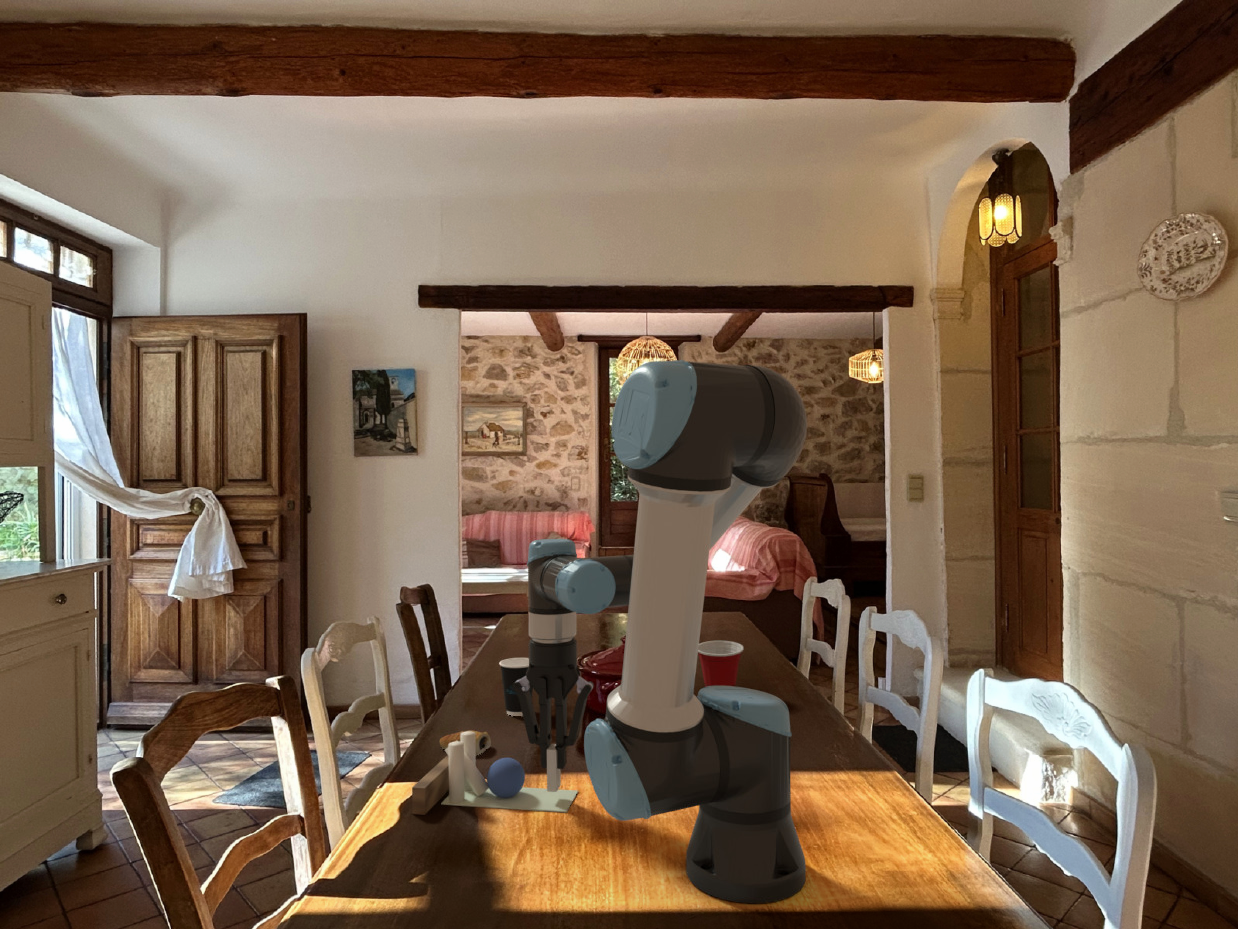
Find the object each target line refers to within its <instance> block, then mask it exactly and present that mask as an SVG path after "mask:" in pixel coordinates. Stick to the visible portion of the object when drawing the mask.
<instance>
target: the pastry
mask: <svg viewBox="0 0 1238 929" xmlns="http://www.w3.org/2000/svg"><path fill="white" fill-rule="evenodd" d="M467 731H472V732H475V746H476V757H477V755H478V756H480V755H482V754H483V753H484V752H485V751H487V750H488V749H489V748H490V747H491V746H492V745H491V744H492V740H491V737H490V735H489V733H488V732H487V731H484V732H480V731H476V730H474V729H473V730H465V731H464V730H461V731H459V732H455V733H451V734H446V735H445V736H443V737H441V738H440V739H439V746H440V747H442V748H441V749H442V750H443V749H446V748H448V744H449V743H451V742H455V741H460V734H461V733H462V732H467ZM460 742H461V741H460ZM486 749H487V750H486ZM481 753H482V754H481ZM479 754H480V755H479Z"/></svg>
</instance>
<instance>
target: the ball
mask: <svg viewBox="0 0 1238 929" xmlns="http://www.w3.org/2000/svg"><path fill="white" fill-rule="evenodd" d="M525 778H526V774H525V770H524V768H523V765H522V764H521V763H520V762H519V761H518V760H516V759H515V758H512V757H502V758H499V759H497V760H496V761H494V762H493V763H492V764H491V765H490V767H489V769H488V771H487V775H486V782H487V784H488V787H489V789H490V791H491V792H492V793H493V794H494V795H496V796H498V797H501V798H509V797H512V796H514V795H516V794H517V793H518V792H519V791H520V790H521V789H522V787H524V785H525V781H526V780H525Z"/></svg>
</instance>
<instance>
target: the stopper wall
mask: <svg viewBox="0 0 1238 929" xmlns="http://www.w3.org/2000/svg"><path fill="white" fill-rule="evenodd" d="M447 792H449V756H448V754H447V755H445V757H443V759H442V760H440V761H439V762H438V763H437V764H436V765H435V766H434V767H432V769H430V770H429V771H428V772H427V773H426V774H425V775H424V776H423V777H422V778H421V779H420V780H419V781H417V782H416V783H415V784H414V785H413V786H412V787H411V794H412V795H411V797H412V798H411V802H412V804H411V805H412V806H411V807H412V809H411V811H412V813H411V814H412V815H420V816H421V815H422V816H425V815H426V814H427V813H428V812H430V810H431V809H432V808H433V807H434V806H435V805H436V804H438V802H439V801H440V800H441V799H442V798H443V796H445V795H446V793H447Z"/></svg>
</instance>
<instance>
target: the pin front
mask: <svg viewBox="0 0 1238 929" xmlns="http://www.w3.org/2000/svg"><path fill="white" fill-rule="evenodd" d="M455 742H456V741H455ZM444 752H445V753H446V754H447V755H448V756H449V752H448V748H446V749H445V750H444ZM464 777H465V780H466V781H467V782H468V784H469V785H470V787H471V788H472V789H473V791H474V792H475V794H476V795H477V796H478V797H479V796H480V795H481V794H483V793H484V792H485V791H486V790H487V789H488V788H489V787H488V784H487V779H485V777H484V775H482V773H481V772H480V770H479V769H478V768H477V766H475V765H474V763H473V762H472V760H471V759H470V758H469V756H468V755H467V753H466V752H465V751H464Z"/></svg>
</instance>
